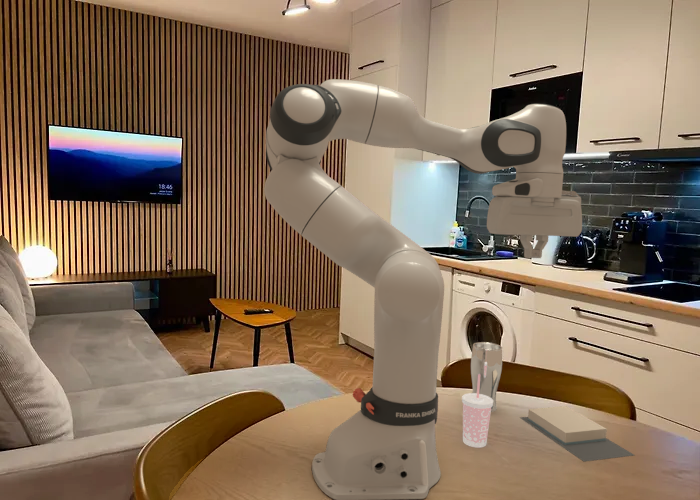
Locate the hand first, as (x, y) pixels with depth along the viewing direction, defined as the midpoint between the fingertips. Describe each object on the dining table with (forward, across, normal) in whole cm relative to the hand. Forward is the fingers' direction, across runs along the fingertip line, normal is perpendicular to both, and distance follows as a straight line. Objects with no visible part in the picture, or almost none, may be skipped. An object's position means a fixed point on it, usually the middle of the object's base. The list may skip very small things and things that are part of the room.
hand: (532, 257), depth 104 cm
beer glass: (+37, 0, -14) cm, 40 cm away
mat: (+37, -11, +3) cm, 39 cm away
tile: (+35, -11, +7) cm, 38 cm away
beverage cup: (+37, +11, +1) cm, 39 cm away
